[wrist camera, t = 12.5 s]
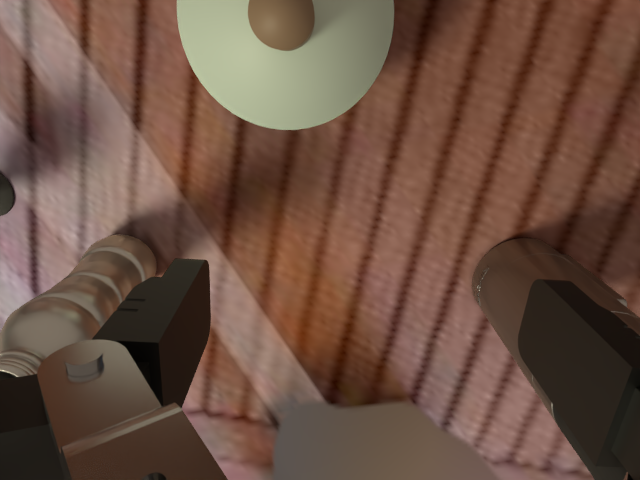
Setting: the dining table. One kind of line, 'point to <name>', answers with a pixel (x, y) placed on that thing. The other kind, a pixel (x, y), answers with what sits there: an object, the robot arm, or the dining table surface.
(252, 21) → the lid
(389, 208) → the dining table surface
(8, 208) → the sundae
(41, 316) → the plastic bottle
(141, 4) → the dining table surface
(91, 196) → the dining table surface
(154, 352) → the robot arm
